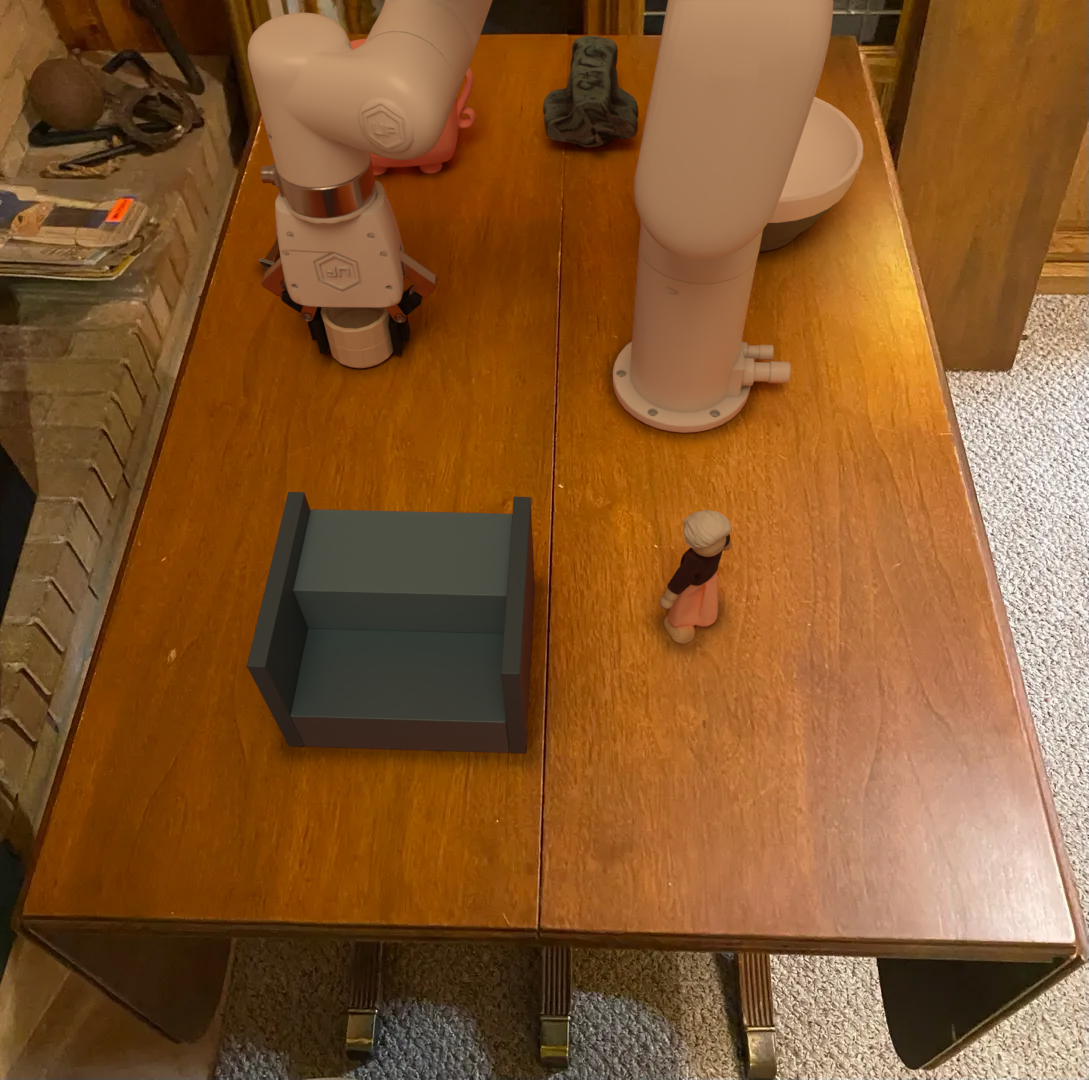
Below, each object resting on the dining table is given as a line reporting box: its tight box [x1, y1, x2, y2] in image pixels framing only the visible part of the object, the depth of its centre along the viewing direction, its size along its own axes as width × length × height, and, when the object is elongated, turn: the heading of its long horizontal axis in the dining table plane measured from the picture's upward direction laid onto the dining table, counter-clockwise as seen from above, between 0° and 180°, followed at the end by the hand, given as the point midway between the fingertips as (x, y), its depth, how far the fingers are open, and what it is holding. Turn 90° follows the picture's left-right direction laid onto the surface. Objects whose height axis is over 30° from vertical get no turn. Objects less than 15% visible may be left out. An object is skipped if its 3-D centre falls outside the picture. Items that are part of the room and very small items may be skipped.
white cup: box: [321, 307, 394, 369], centre depth 96 cm, size 6×6×5 cm
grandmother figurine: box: [659, 509, 733, 645], centre depth 74 cm, size 8×4×13 cm, turn 148°
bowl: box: [759, 95, 864, 253], centre depth 104 cm, size 20×20×10 cm
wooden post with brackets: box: [257, 234, 280, 271], centre depth 105 cm, size 2×8×4 cm, turn 156°
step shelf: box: [246, 491, 536, 754], centre depth 73 cm, size 17×14×12 cm
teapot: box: [350, 38, 477, 176], centre depth 111 cm, size 15×17×13 cm
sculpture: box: [542, 35, 639, 148], centre depth 116 cm, size 12×8×15 cm
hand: (363, 342), depth 97 cm, fingers closed on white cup, 6 cm apart
